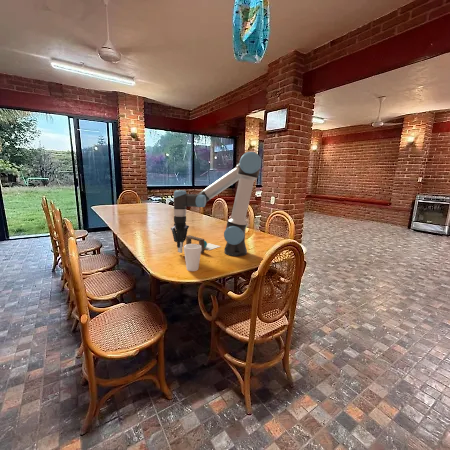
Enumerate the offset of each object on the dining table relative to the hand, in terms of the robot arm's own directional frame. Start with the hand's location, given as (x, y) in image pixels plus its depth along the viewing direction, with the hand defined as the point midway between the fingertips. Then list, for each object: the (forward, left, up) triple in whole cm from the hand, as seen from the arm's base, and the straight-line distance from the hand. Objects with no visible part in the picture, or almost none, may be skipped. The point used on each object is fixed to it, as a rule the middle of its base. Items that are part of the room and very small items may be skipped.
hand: (180, 252), depth 155 cm
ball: (+1, -21, +1) cm, 21 cm away
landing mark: (0, -27, -2) cm, 27 cm away
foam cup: (-23, +11, -2) cm, 25 cm away
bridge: (0, -13, -2) cm, 13 cm away
